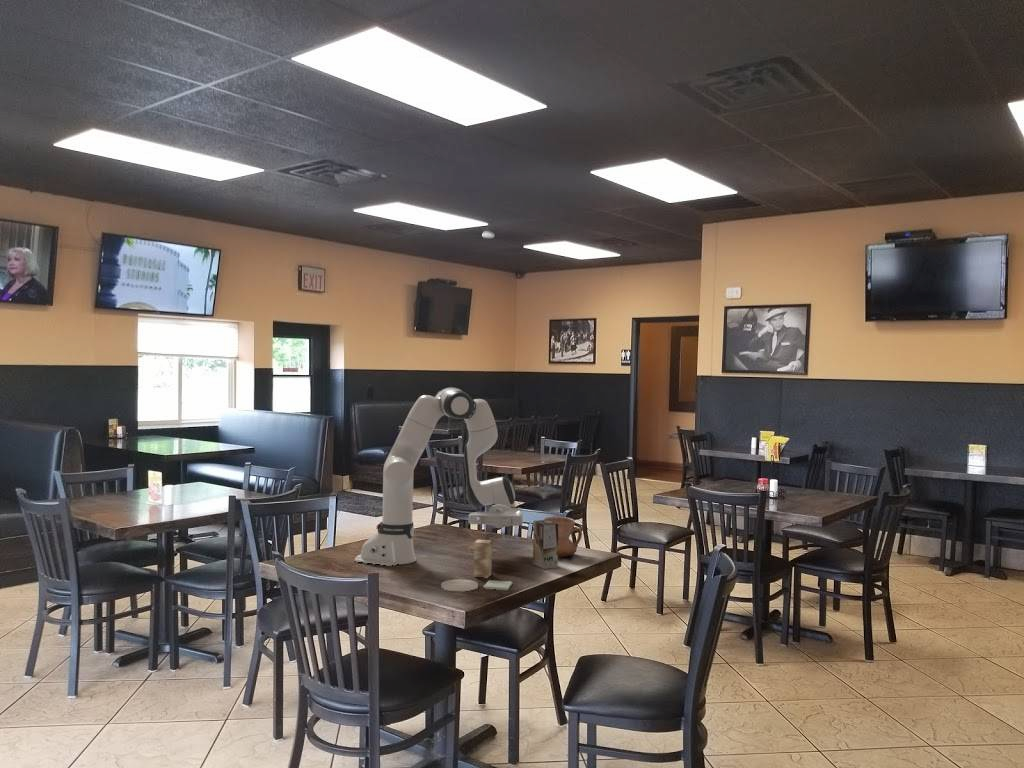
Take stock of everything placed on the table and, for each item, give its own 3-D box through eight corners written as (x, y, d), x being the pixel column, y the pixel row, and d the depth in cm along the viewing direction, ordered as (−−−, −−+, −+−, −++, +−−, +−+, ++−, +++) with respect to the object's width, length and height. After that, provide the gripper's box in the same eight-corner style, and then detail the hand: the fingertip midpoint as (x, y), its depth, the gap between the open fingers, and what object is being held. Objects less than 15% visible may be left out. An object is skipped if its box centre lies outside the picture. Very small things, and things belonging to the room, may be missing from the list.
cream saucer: (436, 590, 244) (436, 587, 244) (446, 581, 255) (446, 578, 255) (473, 593, 241) (473, 590, 241) (481, 583, 253) (481, 580, 253)
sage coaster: (483, 588, 247) (483, 586, 247) (488, 582, 255) (488, 580, 255) (507, 590, 245) (507, 587, 245) (512, 584, 253) (512, 581, 253)
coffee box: (558, 567, 276) (559, 523, 276) (542, 569, 274) (543, 524, 274) (547, 562, 285) (548, 519, 285) (531, 563, 282) (532, 520, 282)
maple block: (473, 577, 261) (474, 542, 261) (477, 573, 266) (477, 539, 266) (488, 578, 260) (488, 543, 260) (491, 574, 265) (491, 540, 265)
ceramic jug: (539, 560, 288) (541, 522, 288) (532, 551, 302) (534, 515, 302) (586, 560, 291) (587, 523, 291) (577, 551, 305) (578, 516, 305)
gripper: (472, 506, 291) (463, 513, 277) (525, 508, 287) (519, 514, 273) (472, 523, 291) (463, 530, 277) (525, 524, 287) (519, 532, 273)
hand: (491, 522), depth 275 cm, fingers open, 8 cm apart
